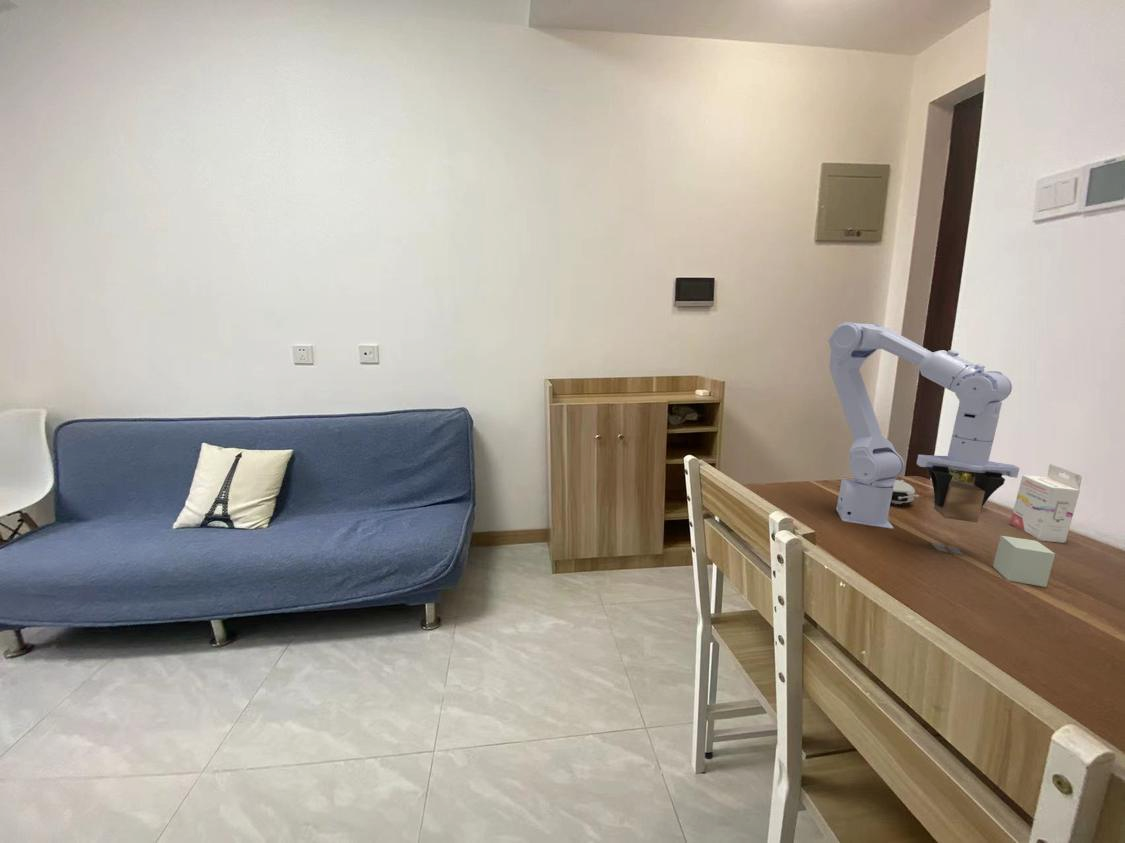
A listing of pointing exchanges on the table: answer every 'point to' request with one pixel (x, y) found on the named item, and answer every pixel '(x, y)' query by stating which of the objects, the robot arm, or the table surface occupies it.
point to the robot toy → (902, 492)
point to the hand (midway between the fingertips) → (956, 507)
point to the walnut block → (962, 502)
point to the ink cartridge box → (1047, 504)
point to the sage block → (1023, 561)
